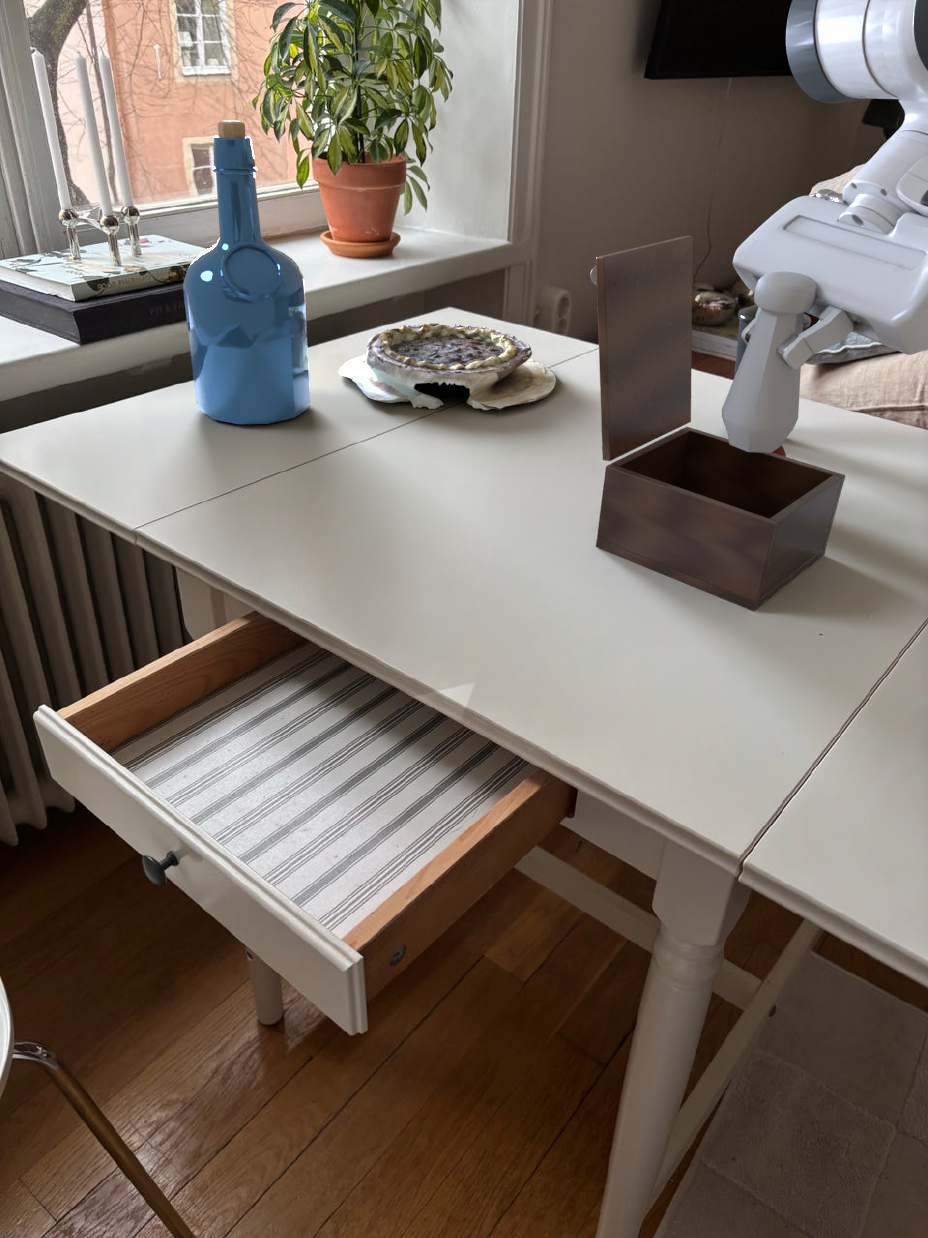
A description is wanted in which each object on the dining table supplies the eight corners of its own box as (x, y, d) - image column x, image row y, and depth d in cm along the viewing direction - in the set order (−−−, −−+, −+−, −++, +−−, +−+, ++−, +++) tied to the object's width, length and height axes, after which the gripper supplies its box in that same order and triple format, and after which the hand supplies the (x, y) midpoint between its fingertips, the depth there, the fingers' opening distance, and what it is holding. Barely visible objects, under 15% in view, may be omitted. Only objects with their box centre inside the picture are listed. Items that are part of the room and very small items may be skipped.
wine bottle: (188, 395, 115) (153, 114, 99) (296, 384, 120) (279, 114, 104) (209, 436, 104) (174, 128, 88) (327, 422, 109) (314, 128, 93)
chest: (824, 554, 86) (846, 474, 82) (754, 611, 77) (774, 524, 73) (674, 501, 95) (686, 426, 90) (595, 546, 86) (605, 465, 82)
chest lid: (693, 235, 83) (649, 236, 86) (604, 256, 74) (558, 257, 77) (691, 421, 90) (650, 417, 93) (610, 461, 81) (567, 455, 84)
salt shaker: (715, 452, 75) (747, 279, 68) (716, 426, 79) (746, 262, 72) (793, 461, 73) (833, 287, 66) (789, 434, 78) (827, 269, 71)
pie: (317, 355, 130) (316, 318, 127) (500, 339, 139) (502, 304, 137) (384, 428, 108) (383, 385, 106) (594, 403, 118) (599, 363, 115)
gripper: (797, 156, 76) (672, 290, 78) (1002, 201, 60) (839, 367, 62) (829, 214, 80) (709, 340, 82) (1029, 271, 64) (875, 425, 66)
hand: (766, 352), depth 72 cm, fingers closed on salt shaker, 3 cm apart
